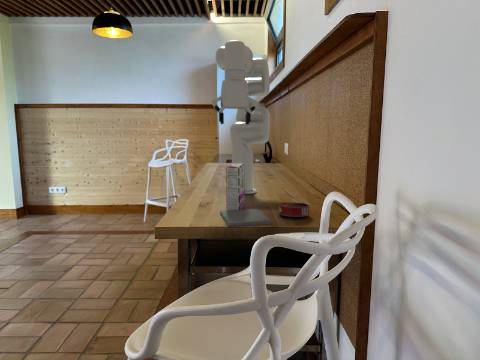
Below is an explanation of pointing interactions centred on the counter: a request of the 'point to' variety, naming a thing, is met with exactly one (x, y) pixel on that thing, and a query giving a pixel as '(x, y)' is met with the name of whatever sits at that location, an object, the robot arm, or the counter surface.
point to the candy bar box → (235, 186)
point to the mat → (244, 217)
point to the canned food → (294, 208)
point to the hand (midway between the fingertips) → (234, 124)
